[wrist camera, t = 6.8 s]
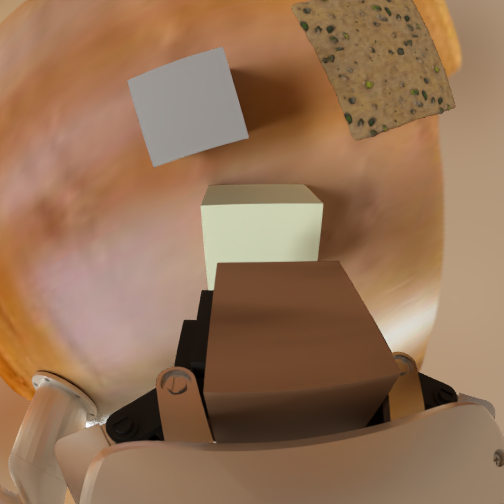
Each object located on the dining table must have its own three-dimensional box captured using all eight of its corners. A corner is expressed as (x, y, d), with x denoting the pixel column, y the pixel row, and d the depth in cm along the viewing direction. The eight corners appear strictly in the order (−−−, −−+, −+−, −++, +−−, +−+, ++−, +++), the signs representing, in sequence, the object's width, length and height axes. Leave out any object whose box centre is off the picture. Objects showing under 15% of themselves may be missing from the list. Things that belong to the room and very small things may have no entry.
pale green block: (298, 265, 23) (311, 301, 19) (214, 268, 23) (210, 305, 18) (303, 183, 20) (323, 203, 15) (209, 185, 20) (200, 205, 15)
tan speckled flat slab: (454, 108, 17) (461, 109, 16) (351, 143, 19) (356, 144, 18) (406, -8, 12) (411, -11, 11) (286, 7, 14) (288, 2, 13)
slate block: (245, 133, 18) (249, 137, 13) (177, 153, 18) (153, 167, 13) (226, 68, 16) (222, 46, 10) (158, 90, 16) (127, 80, 11)
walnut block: (320, 344, 13) (350, 445, 8) (223, 348, 13) (220, 458, 8) (338, 260, 11) (401, 372, 6) (217, 262, 11) (203, 392, 6)
